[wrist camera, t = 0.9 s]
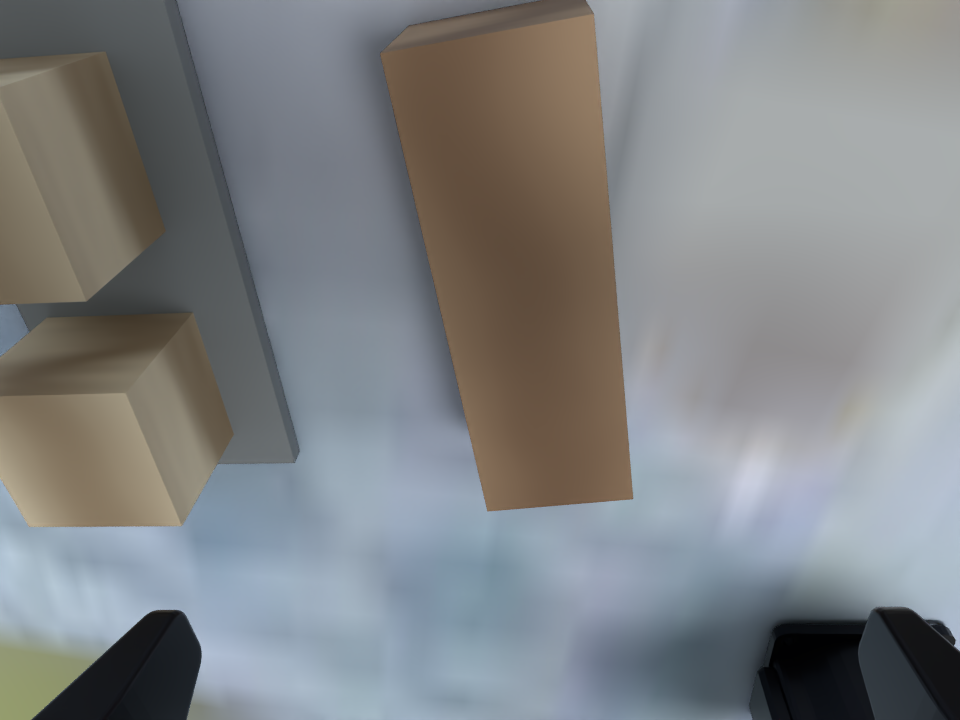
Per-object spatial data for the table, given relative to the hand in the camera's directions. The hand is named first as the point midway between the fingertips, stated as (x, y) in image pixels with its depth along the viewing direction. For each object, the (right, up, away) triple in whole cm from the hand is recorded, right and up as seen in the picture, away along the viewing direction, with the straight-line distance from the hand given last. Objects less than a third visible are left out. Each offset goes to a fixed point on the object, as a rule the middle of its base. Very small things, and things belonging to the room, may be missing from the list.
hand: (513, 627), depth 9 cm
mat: (-11, +6, +11) cm, 16 cm away
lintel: (+1, +7, +10) cm, 12 cm away
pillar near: (-11, +9, +9) cm, 17 cm away
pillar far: (-11, +3, +12) cm, 17 cm away
